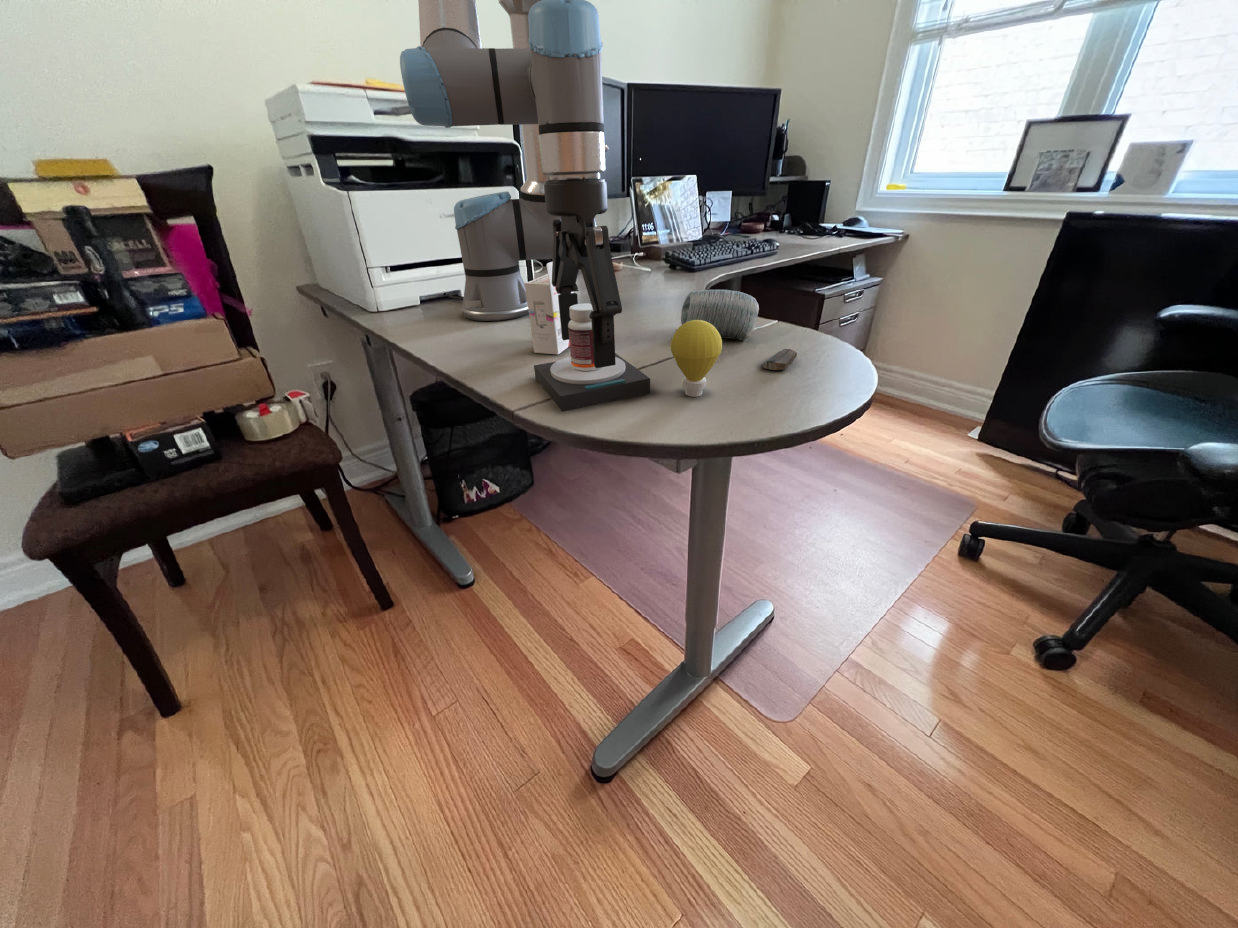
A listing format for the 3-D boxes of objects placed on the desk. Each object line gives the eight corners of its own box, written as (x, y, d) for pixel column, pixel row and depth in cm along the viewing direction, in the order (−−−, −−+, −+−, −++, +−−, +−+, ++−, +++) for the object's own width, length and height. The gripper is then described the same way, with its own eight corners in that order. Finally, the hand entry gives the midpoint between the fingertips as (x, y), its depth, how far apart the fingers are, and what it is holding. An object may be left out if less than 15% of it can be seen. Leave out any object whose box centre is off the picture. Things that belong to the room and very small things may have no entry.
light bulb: (660, 390, 69) (661, 319, 64) (698, 380, 72) (702, 311, 67) (688, 407, 64) (692, 331, 59) (728, 396, 67) (735, 322, 62)
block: (797, 361, 77) (798, 350, 76) (783, 373, 73) (785, 361, 72) (774, 357, 79) (776, 346, 78) (760, 368, 75) (761, 357, 74)
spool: (665, 322, 87) (690, 267, 84) (681, 333, 95) (704, 283, 93) (734, 351, 82) (762, 294, 80) (744, 360, 91) (770, 308, 88)
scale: (535, 379, 74) (533, 361, 73) (614, 364, 79) (613, 347, 77) (561, 411, 64) (559, 391, 63) (650, 393, 68) (650, 374, 67)
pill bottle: (600, 372, 68) (597, 311, 64) (567, 371, 69) (562, 310, 65) (607, 361, 72) (605, 302, 68) (576, 359, 73) (572, 302, 69)
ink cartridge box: (554, 338, 92) (545, 254, 84) (578, 340, 90) (571, 254, 83) (532, 353, 85) (520, 262, 77) (558, 355, 83) (548, 263, 76)
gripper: (650, 176, 50) (650, 374, 61) (570, 176, 69) (581, 325, 80) (580, 179, 47) (593, 385, 58) (518, 178, 67) (537, 332, 78)
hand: (586, 351), depth 69 cm, fingers open, 13 cm apart
